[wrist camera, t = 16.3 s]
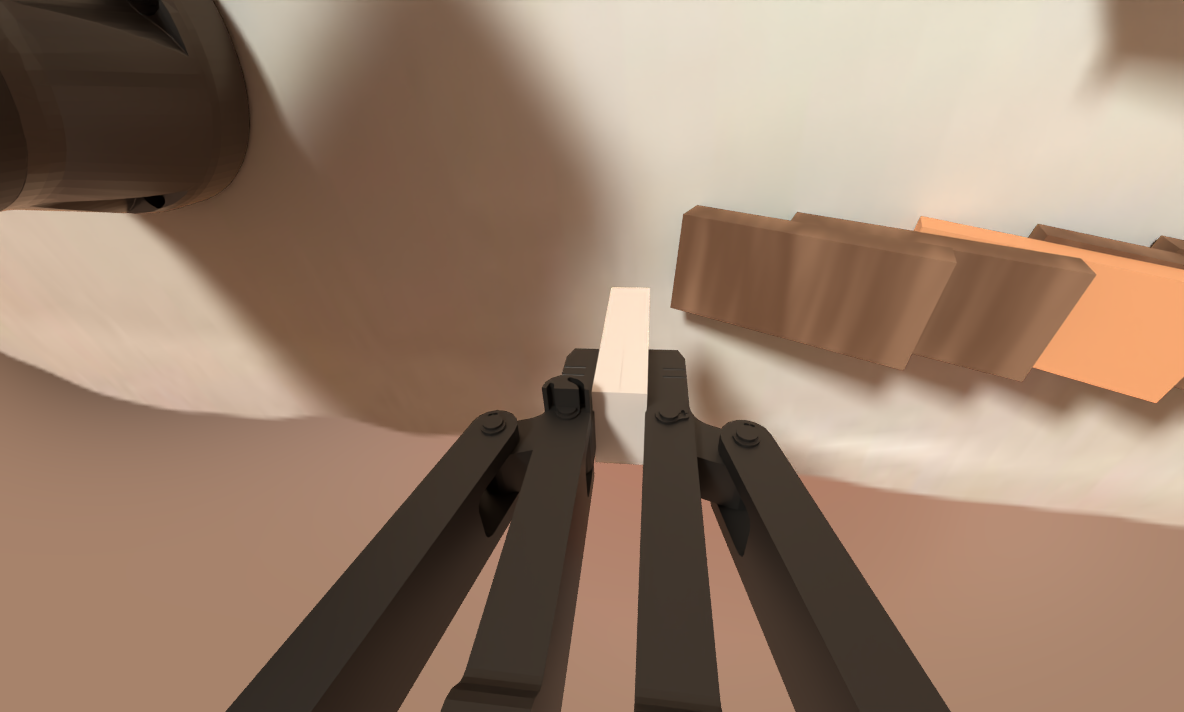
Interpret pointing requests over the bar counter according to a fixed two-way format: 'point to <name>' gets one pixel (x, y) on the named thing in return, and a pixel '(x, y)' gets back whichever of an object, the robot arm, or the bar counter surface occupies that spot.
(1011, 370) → the domino
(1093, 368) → the domino
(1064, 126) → the bar counter surface
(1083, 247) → the domino
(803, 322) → the domino
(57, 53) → the robot arm
